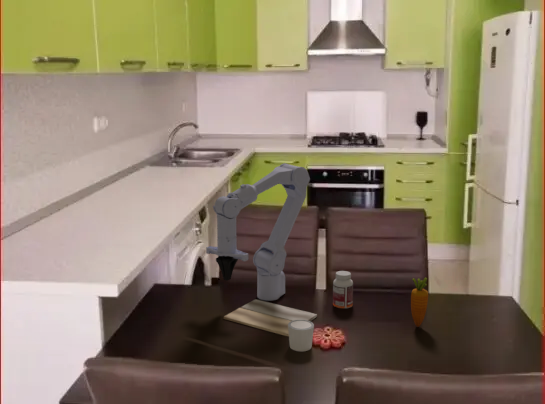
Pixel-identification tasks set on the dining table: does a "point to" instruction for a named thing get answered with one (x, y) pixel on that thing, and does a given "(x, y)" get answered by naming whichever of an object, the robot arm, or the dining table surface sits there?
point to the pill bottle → (343, 290)
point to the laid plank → (278, 311)
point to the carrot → (419, 301)
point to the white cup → (300, 335)
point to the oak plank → (259, 321)
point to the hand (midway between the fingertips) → (227, 279)
